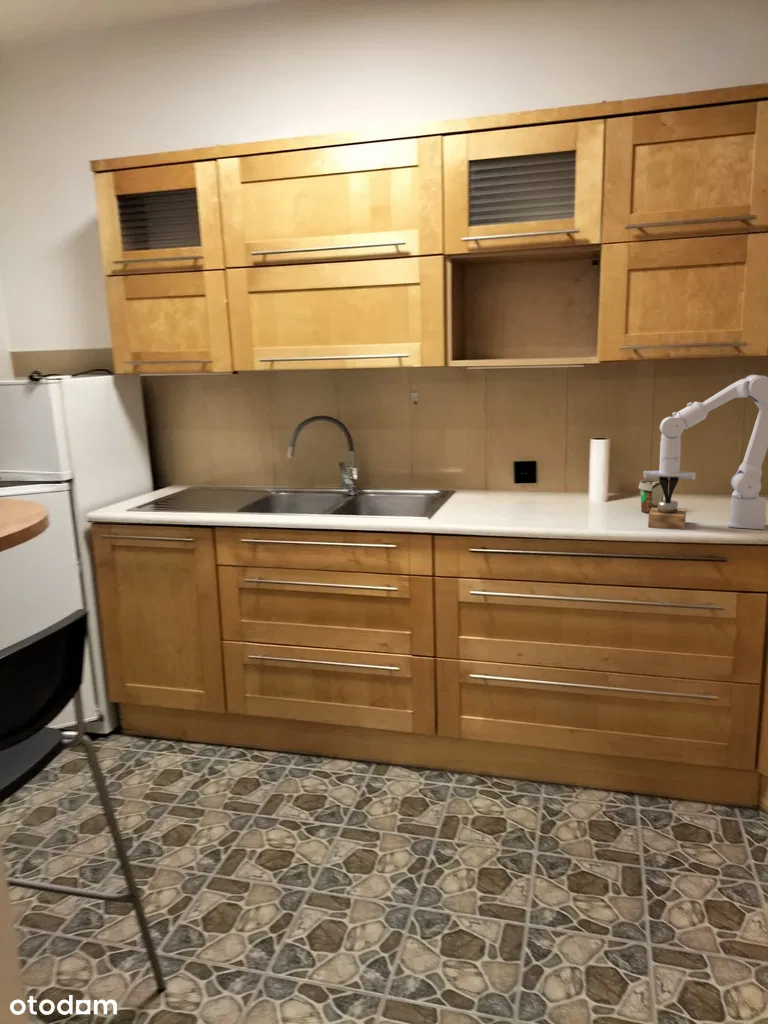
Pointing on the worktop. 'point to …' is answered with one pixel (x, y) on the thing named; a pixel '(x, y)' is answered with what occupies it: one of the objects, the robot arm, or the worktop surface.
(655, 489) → the food container
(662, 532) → the worktop surface
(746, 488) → the robot arm
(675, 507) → the grey rounded piece
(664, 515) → the block
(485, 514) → the worktop surface
